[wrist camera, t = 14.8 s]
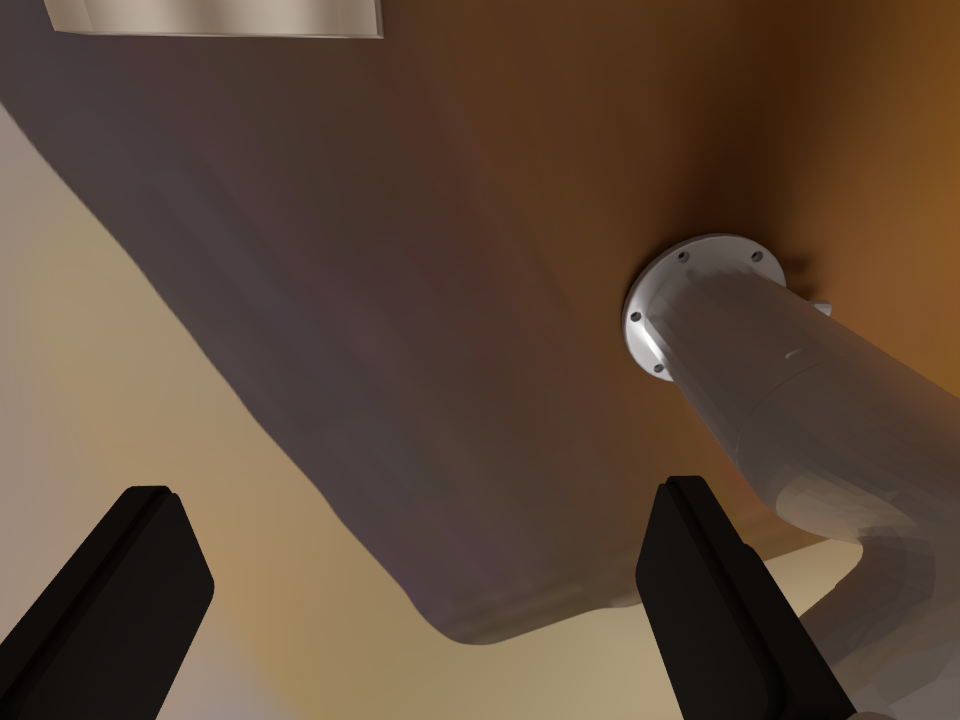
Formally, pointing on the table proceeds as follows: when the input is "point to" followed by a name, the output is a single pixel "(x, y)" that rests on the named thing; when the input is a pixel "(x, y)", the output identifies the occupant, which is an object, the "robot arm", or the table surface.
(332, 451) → the table surface
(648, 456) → the table surface
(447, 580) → the table surface
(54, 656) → the robot arm
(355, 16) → the slot holder
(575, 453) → the table surface
